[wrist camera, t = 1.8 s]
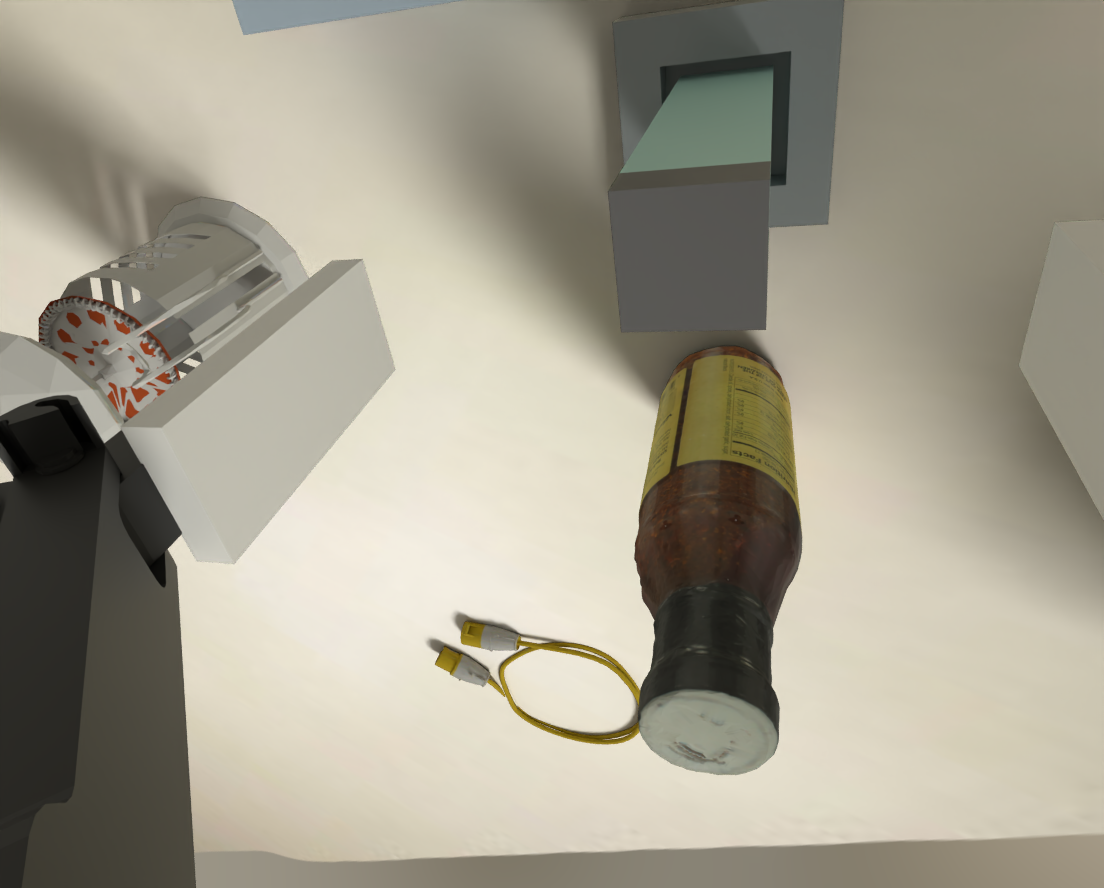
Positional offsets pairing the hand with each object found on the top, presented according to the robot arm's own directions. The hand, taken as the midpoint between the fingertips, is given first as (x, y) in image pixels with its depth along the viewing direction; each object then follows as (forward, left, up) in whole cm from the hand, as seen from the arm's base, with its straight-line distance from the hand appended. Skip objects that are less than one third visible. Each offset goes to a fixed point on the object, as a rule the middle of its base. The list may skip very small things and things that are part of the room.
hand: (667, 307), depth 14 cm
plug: (0, 0, -18) cm, 18 cm away
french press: (-6, +26, -19) cm, 33 cm away
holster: (0, 0, -19) cm, 19 cm away
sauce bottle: (-13, 0, -19) cm, 23 cm away
